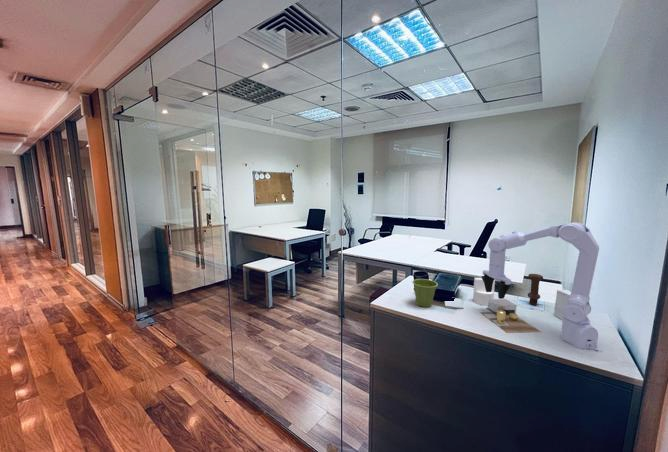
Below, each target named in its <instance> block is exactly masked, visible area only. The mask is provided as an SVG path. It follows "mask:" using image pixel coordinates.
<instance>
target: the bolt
mask: <svg viewBox="0 0 668 452" xmlns="http://www.w3.org/2000/svg"><path fill="white" fill-rule="evenodd" d="M528 278H529V279H530V290H529V292H528V293H527V296H528V298H529V305H531V306H538V301H539V299H541V295H540V294H539V291H540V290H539V288H540V287H539V286H540V281H541V280H542V281H543V280H544V276H543V275H541V274H538V273H529V274H528Z"/></svg>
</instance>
